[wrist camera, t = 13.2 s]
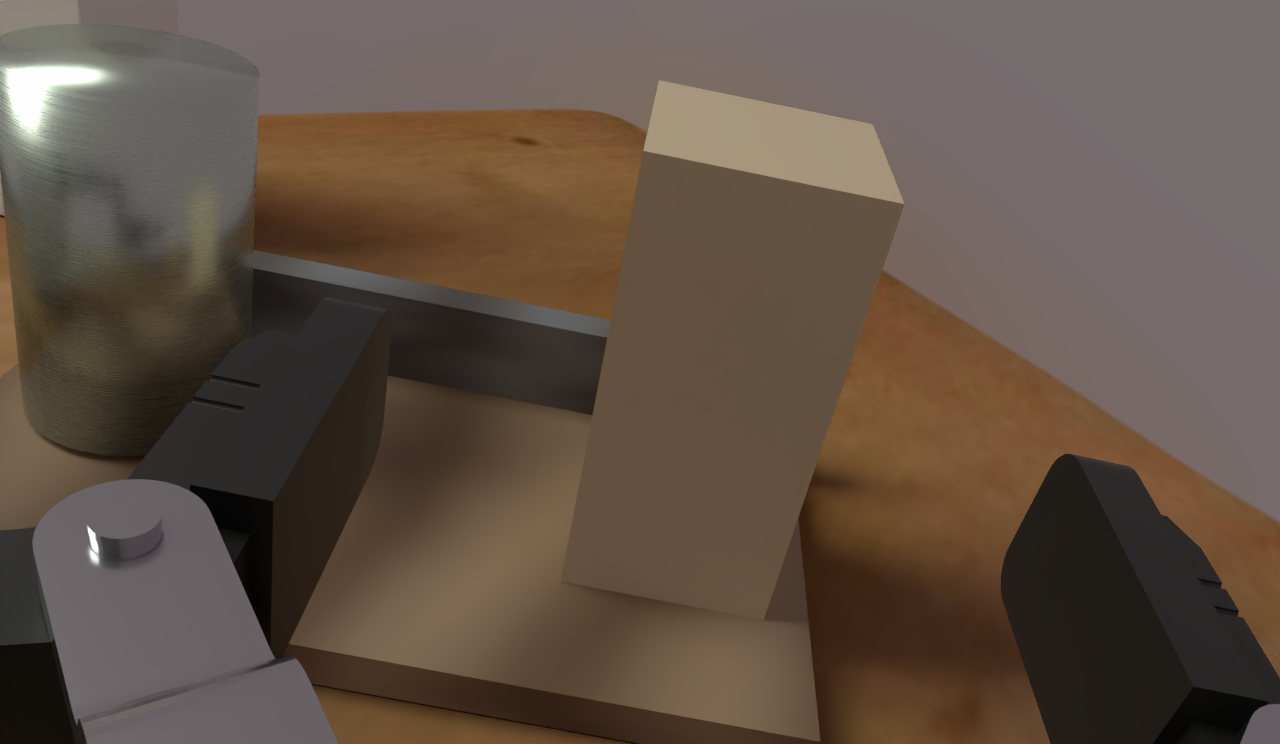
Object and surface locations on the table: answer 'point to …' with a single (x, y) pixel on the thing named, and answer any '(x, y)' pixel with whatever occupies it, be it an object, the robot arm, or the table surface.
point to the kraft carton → (727, 345)
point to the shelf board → (485, 537)
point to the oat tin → (124, 224)
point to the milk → (88, 17)
